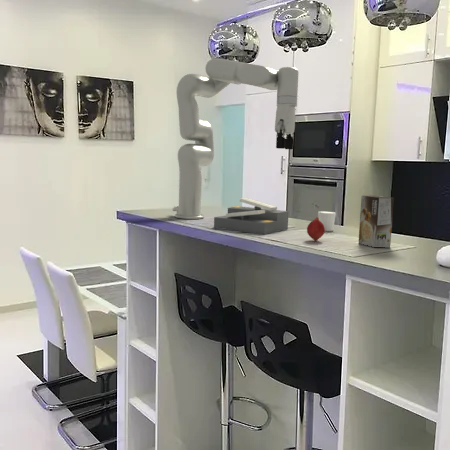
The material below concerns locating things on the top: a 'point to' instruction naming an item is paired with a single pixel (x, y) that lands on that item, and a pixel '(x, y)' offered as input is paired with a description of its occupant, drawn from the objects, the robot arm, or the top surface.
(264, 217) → the switch console
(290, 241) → the top surface
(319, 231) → the onion
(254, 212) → the bar
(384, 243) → the coffee box
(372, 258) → the top surface
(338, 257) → the top surface
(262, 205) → the rear rocker
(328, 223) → the white cup
